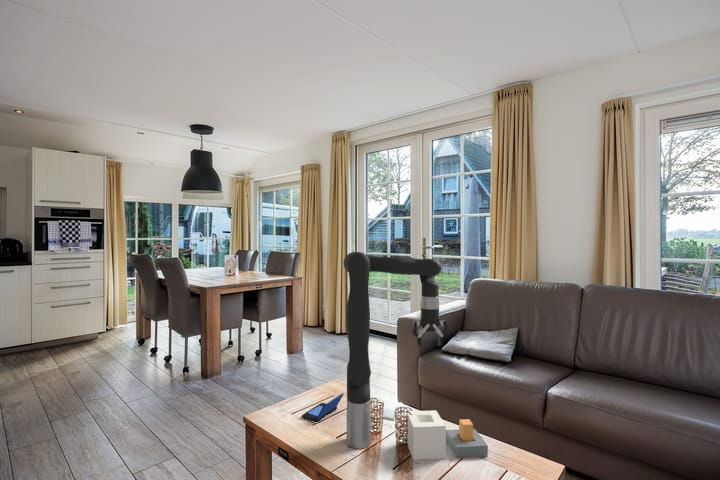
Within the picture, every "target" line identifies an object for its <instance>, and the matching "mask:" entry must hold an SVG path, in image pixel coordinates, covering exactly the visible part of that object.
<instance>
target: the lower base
mask: <svg viewBox="0 0 720 480" xmlns="http://www.w3.org/2000/svg"><path fill="white" fill-rule="evenodd" d="M446 444H448V446H449V448H450V450H451V451H452V454H453V455H454V457H455V458H456V459H462V458H479V457H485V458H486V457H488V455H489V451H488V450H489V448H488V447H489V445H488V444H487V442H486V441H485V440H484V439H483V437H482V435H480V433H479V431H477V429H475V428H473V441H470V442H461V440H460V439H459V428H458V429H457V428H456V429H446Z"/></svg>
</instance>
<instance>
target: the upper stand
mask: <svg viewBox="0 0 720 480" xmlns="http://www.w3.org/2000/svg"><path fill="white" fill-rule="evenodd" d="M410 413H411V414H412V415H408V441H407V442H406V444H407V443H408V445H407V447H408V449H409V452H410V455H411V457H412V460H413V461H422V460H439V459H440V460H441V459H445V460H446V457H447V455H446V452H447V451H446V450H447V446H446V445H447V441H446V430H447V429H446V428H447V425H446V424H445V422H444V421H443V419H442V417H441V416H440V414H439V412H438V411H437V409H436V410H415V411H412V410H411V411H410Z"/></svg>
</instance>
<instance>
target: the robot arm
mask: <svg viewBox="0 0 720 480" xmlns="http://www.w3.org/2000/svg"><path fill="white" fill-rule="evenodd" d="M343 267H344V269H345V270H346V272H347V273H348V277H349V278H348V279H349V293H348V298H347V302H346V308H345V309H346V310H345V316H346V317H345V319H346V320H345V321H346V322H345V325H346V333H347V334H346V335H347V342H348V347H349V348H348V349H349V354H348V355H349V356H348V362H347V365H346V447H347V448H351V449H357V450H359V449H365V448H367V447H369V445H370V444H371V416H370V412H371V387H370V386H371V385H370V383H371V381H370V378H371V376H372V372H371V371H372V369H371V365H370V358H369V357H370V356H369V344H370V343H369V342H370V326H371V324H370V323H371V319H370V318H371V316H370V315H371V314H370V313H371V312H370V311H371V310H370V293H369V282H370V273H371V272H372V273H373V272H375V273H376V272H377V273H386V274H393V275H405V276H406V275H407V276H408V275H409V276H411V275H412V276H413V275H416V276H417V275H418V276H419V278H420V283H421V285H420V286H421V287H420V289H421V294H420V295H421V296H420V297H421V298H420V305H419V306H420V320H419V321H417V320H415V319H414V320H413V321H412V329H411V330H412V332H411V333H412V335H413V337H416V345H417V346H418V347H421V346H422V336H423V334H424V333H425V332H426V333H429V332H435V333H437V335H438V336H437V345H438V346H439V347H442V345H443V341H444V340H443V339H444V337H445V336H448V323H447V321H446V319H442V320H440V298H439V296H440V295H439V294H440V293H439V289H440V288H439V284H438V282H437V281H436V276H438V275H439V274H440V273H441V272H442V268H443V267H442V264H441V263H440V262H439V261H438V260H437V259H434V258H415V257H406V256H401V257H400V256H374V255H368V254H366V253H364V252H362V251H361V252H360V251H352V252H349V253H348V254H347V255H345V258H344V259H343ZM419 325H420V328H419V330H418V327H419ZM440 325H441V327H442V332H441V330H440V328H439V327H440Z"/></svg>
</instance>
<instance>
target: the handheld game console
mask: <svg viewBox="0 0 720 480" xmlns="http://www.w3.org/2000/svg"><path fill="white" fill-rule="evenodd" d="M343 396H344V392H343V393H341V394H339V395H337V396H336V397H334V398H332V399H331V400H330V401H329V402H327V403H326V402H321V403H320V402H319V404H317V405H316V406H314V407H312V408H311V409H309V410H307V411H306V412H304V413H303V414H302V415H301V418H302V419H303V418H304V419H303V420H306V419H307V420H306V421H309V420H311V421H310V422H312V421H314V422H313V423H315V422H318V421H319V422H321V421H322V420H323V419H322V418H324V417H325V416H326V415H327V416H329V415H330V413H331V414H332V413H334V412H336V411H337V410H336V409H338V405H339V403H340V402H341V399H343ZM333 411H334V412H333ZM328 414H329V415H328ZM327 416H326V417H327ZM326 417H325V418H326ZM325 418H324V419H325ZM321 419H322V420H321ZM320 420H321V421H320ZM319 422H318V423H319Z"/></svg>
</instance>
